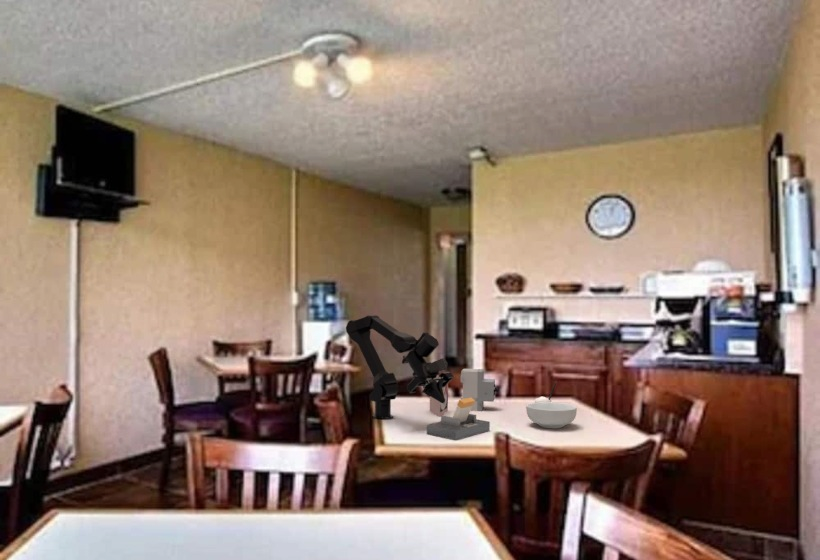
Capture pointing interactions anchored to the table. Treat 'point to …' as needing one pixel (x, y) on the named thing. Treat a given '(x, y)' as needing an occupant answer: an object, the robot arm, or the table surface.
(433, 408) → the pink box
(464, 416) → the lever
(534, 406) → the cereal bowl
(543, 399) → the white mound with stick
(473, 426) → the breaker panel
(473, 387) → the circuit breaker
